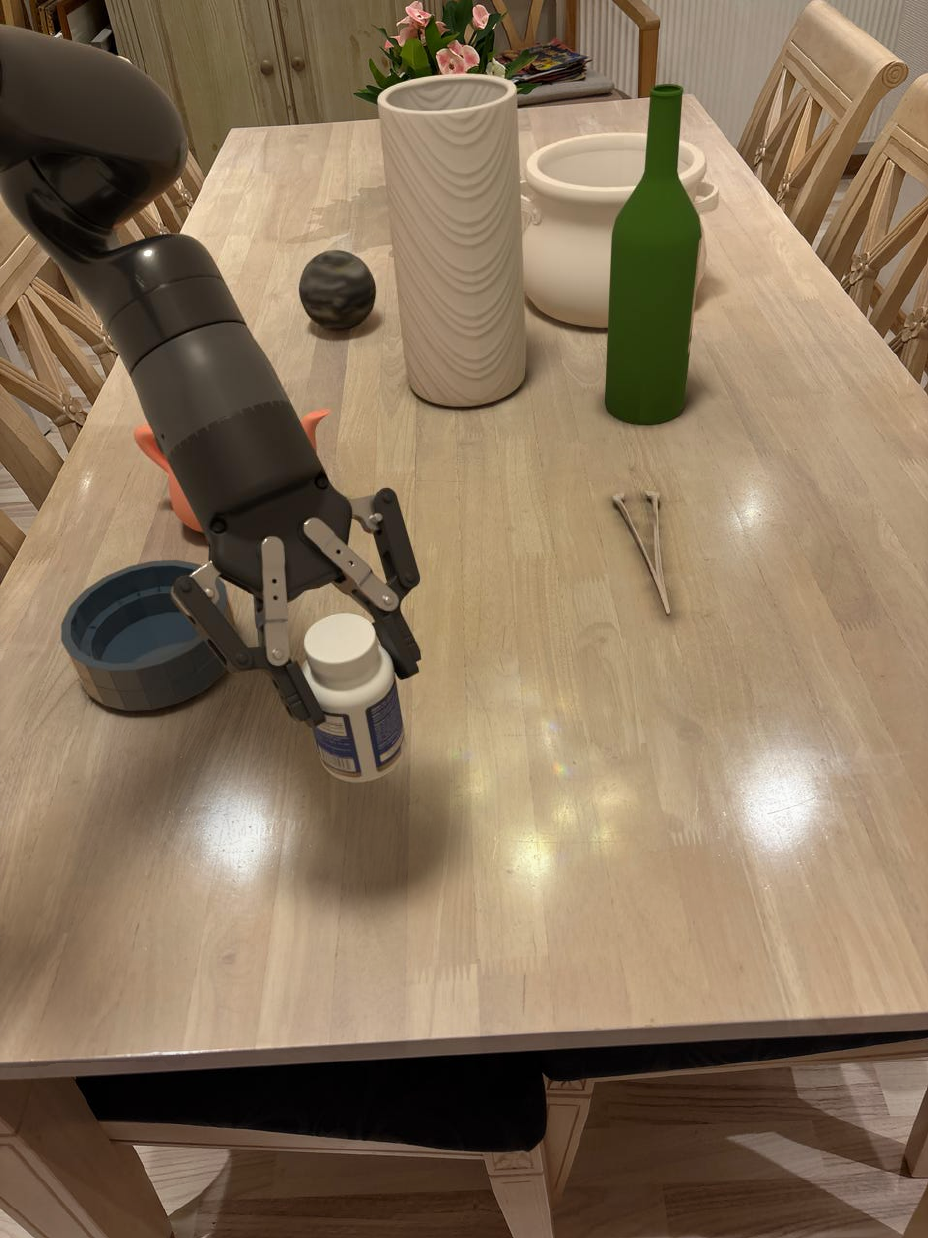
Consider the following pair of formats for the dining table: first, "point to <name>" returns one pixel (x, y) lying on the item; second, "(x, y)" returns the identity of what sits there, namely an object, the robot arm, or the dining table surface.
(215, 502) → the robot arm
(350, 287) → the decorative stone
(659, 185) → the wine bottle
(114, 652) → the bowl
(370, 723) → the pill bottle
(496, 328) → the vase
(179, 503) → the teapot
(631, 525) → the jawbone
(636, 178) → the pot
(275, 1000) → the dining table surface
